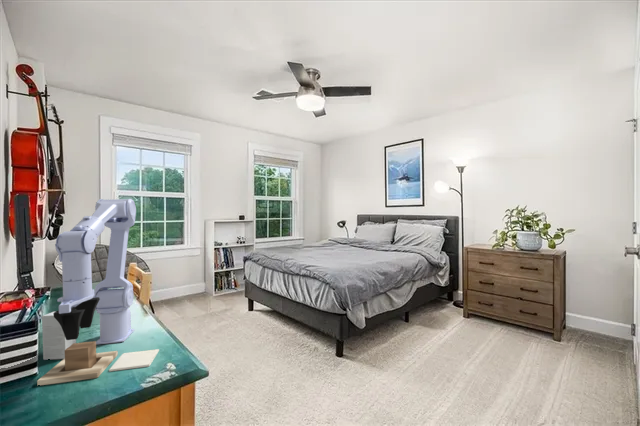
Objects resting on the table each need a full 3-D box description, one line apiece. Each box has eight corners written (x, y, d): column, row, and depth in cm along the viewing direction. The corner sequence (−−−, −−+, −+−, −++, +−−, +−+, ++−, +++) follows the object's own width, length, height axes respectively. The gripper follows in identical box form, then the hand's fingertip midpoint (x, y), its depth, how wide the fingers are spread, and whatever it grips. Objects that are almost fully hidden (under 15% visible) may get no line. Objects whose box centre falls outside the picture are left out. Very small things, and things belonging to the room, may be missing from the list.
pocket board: (66, 361, 82) (66, 356, 82) (117, 355, 85) (117, 350, 85) (37, 385, 70) (37, 380, 70) (97, 377, 73) (97, 372, 73)
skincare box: (77, 352, 87) (76, 310, 87) (65, 359, 83) (64, 315, 83) (55, 353, 87) (54, 310, 87) (42, 360, 83) (40, 315, 82)
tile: (123, 355, 85) (123, 353, 85) (158, 350, 87) (158, 349, 87) (109, 371, 76) (109, 369, 76) (149, 366, 78) (149, 364, 78)
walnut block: (74, 366, 79) (73, 343, 79) (96, 364, 80) (95, 341, 80) (65, 374, 75) (64, 350, 75) (88, 371, 76) (88, 347, 76)
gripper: (71, 274, 82) (73, 324, 82) (41, 287, 68) (43, 347, 69) (102, 272, 84) (104, 321, 85) (79, 284, 71) (81, 343, 71)
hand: (79, 333), depth 77 cm, fingers open, 7 cm apart
